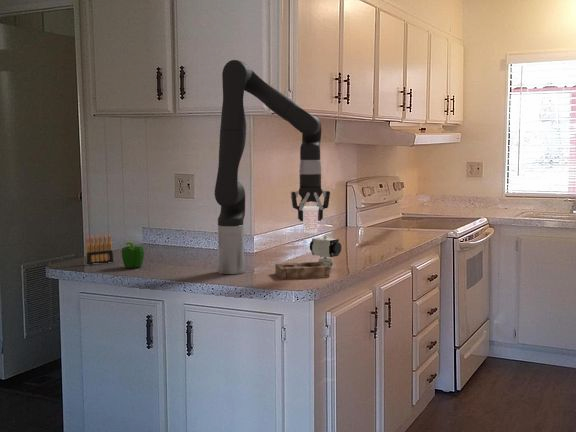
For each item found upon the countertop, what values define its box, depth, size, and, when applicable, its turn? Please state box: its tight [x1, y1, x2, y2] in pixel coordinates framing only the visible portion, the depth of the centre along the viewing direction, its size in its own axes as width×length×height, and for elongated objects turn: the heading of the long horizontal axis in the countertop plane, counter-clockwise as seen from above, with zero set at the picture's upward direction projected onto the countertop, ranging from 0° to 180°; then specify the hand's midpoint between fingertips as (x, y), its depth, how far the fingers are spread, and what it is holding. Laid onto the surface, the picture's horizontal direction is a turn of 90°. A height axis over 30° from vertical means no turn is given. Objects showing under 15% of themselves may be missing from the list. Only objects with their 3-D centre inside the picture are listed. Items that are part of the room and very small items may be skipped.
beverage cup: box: [302, 201, 319, 234], centre depth 246 cm, size 6×6×14 cm
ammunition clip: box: [85, 232, 114, 264], centre depth 275 cm, size 11×2×12 cm, turn 125°
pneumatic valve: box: [309, 235, 342, 269], centre depth 261 cm, size 6×12×12 cm, turn 51°
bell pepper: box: [121, 241, 145, 269], centre depth 266 cm, size 8×8×10 cm
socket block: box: [274, 261, 330, 280], centre depth 247 cm, size 17×11×4 cm, turn 102°
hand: (310, 220), depth 246 cm, fingers closed on beverage cup, 6 cm apart
